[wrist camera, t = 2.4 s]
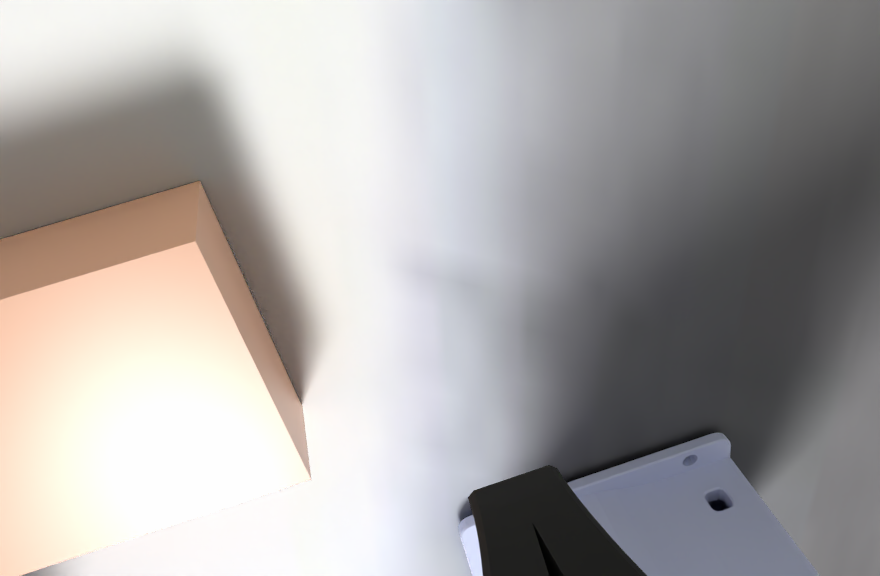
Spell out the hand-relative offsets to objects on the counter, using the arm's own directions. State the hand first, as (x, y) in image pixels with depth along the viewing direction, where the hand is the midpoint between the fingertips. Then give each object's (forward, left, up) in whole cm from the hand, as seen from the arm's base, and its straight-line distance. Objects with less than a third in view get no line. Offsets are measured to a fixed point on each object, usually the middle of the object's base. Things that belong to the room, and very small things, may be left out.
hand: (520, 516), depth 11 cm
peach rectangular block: (+8, 0, -8) cm, 11 cm away
